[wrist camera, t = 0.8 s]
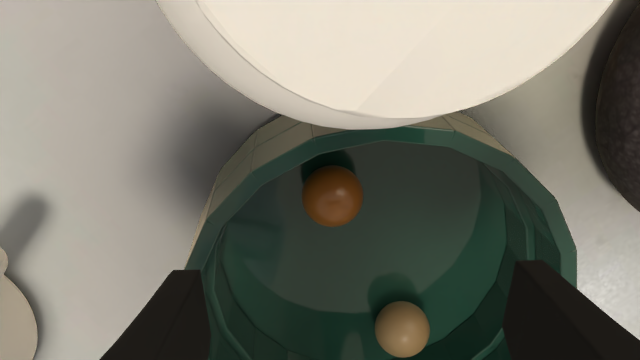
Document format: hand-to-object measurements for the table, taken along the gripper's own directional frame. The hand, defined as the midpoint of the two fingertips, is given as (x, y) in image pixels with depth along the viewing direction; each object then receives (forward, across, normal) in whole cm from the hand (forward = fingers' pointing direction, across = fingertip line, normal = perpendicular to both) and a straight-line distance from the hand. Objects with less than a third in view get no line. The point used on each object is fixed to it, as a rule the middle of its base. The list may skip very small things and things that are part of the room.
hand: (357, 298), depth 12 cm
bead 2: (+8, -3, +9) cm, 12 cm away
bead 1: (+8, 0, +2) cm, 9 cm away
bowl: (+10, -1, +6) cm, 11 cm away
